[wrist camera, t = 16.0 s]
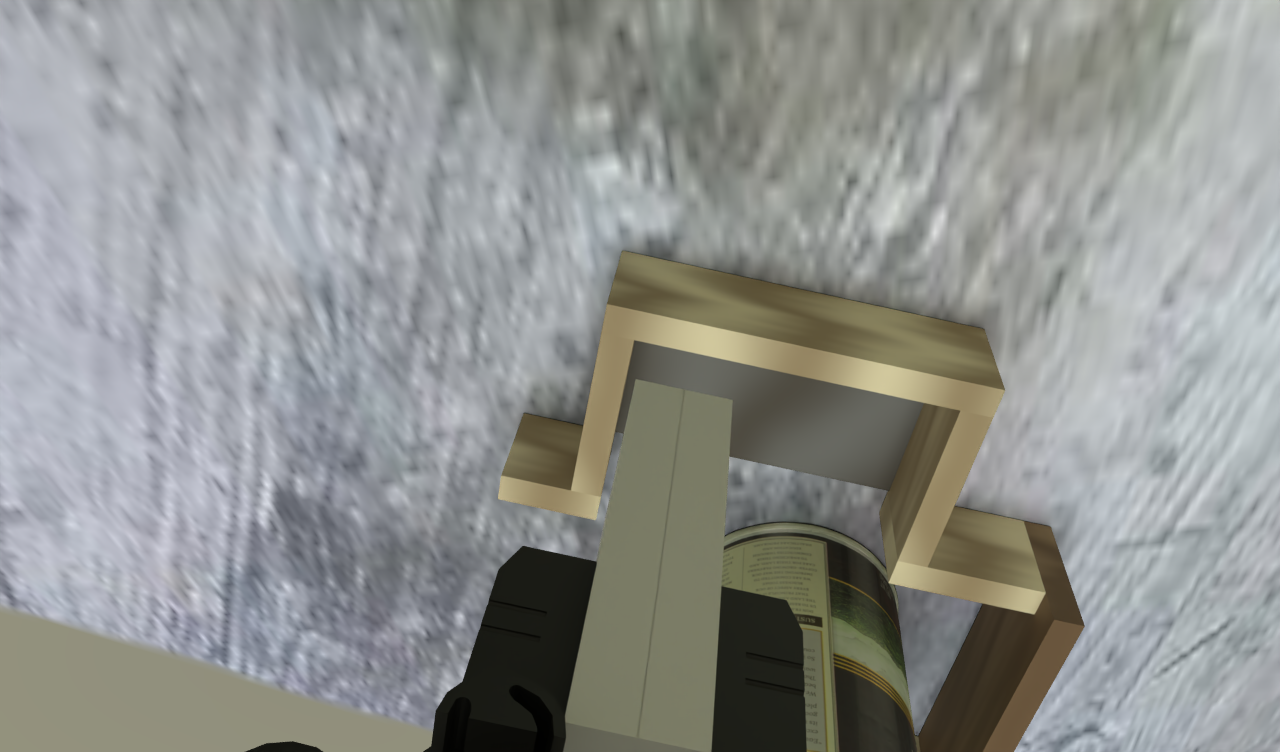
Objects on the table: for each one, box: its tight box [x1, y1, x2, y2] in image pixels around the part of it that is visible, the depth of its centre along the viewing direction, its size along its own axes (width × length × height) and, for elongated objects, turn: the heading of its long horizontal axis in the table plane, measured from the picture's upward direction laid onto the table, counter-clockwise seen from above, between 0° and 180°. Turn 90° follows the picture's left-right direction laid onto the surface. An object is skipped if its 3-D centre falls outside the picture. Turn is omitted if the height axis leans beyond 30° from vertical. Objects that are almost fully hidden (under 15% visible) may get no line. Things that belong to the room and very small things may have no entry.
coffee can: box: [721, 523, 917, 752], centre depth 45 cm, size 10×10×14 cm
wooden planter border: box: [498, 251, 1085, 752], centre depth 46 cm, size 23×24×6 cm
